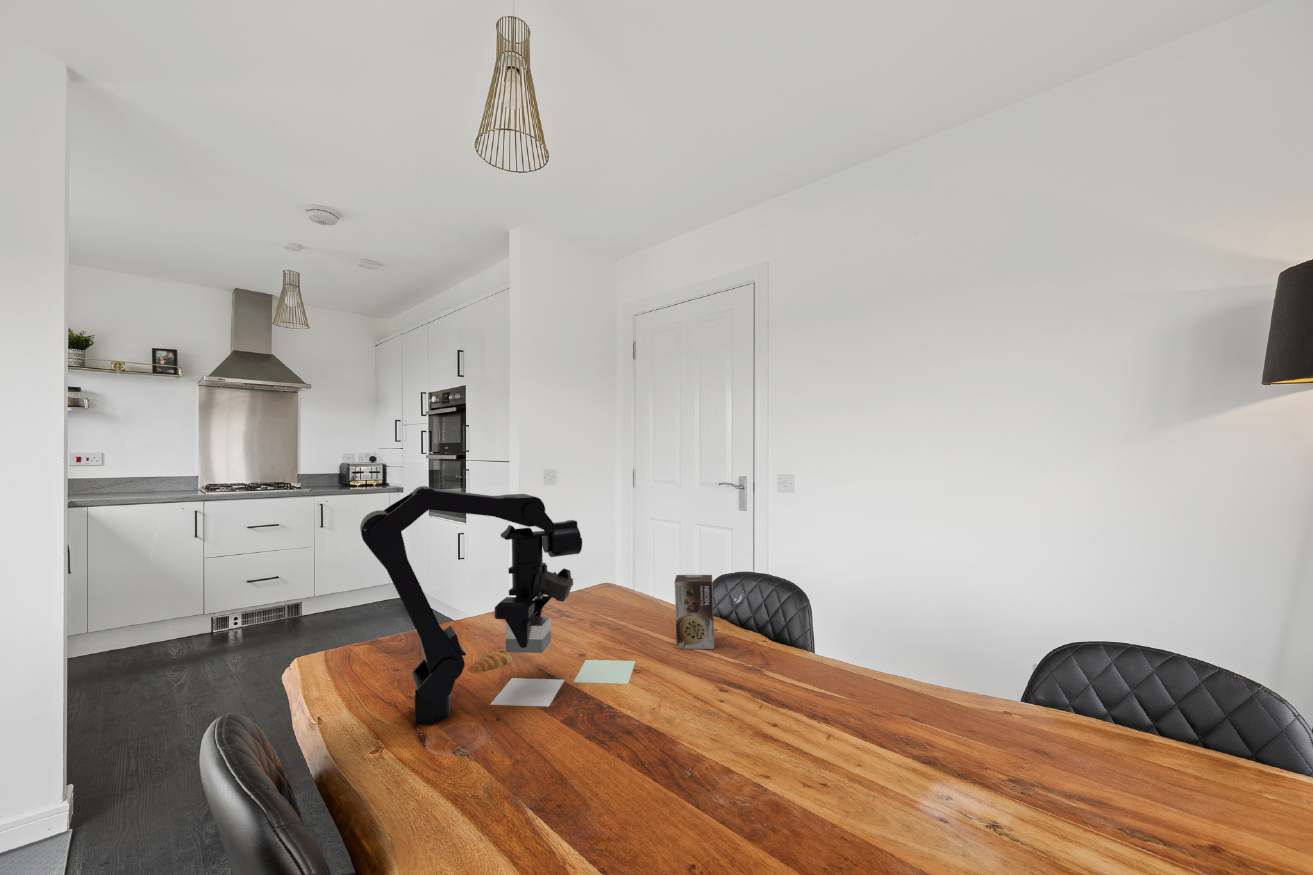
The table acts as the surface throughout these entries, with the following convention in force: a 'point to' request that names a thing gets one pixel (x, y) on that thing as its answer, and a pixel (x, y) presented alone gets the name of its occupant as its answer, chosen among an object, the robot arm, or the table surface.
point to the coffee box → (694, 612)
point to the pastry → (491, 661)
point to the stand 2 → (605, 672)
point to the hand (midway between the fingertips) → (528, 641)
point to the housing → (531, 636)
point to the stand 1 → (528, 692)
